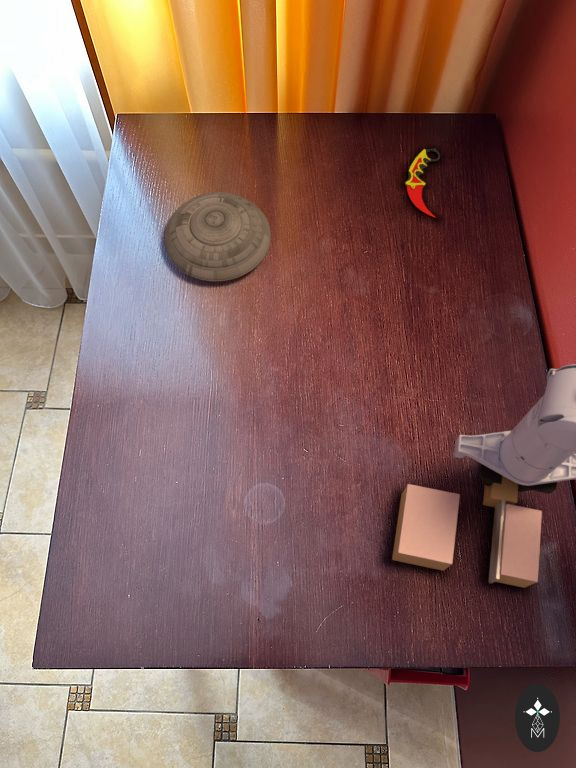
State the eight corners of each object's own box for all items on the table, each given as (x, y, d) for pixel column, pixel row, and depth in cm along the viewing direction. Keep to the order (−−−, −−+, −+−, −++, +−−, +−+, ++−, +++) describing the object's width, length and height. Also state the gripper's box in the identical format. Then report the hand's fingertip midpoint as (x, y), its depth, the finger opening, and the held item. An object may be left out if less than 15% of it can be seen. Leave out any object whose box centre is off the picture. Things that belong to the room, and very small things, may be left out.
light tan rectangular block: (528, 520, 82) (542, 510, 77) (524, 588, 78) (538, 582, 74) (495, 513, 82) (506, 503, 78) (489, 580, 79) (500, 574, 75)
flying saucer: (143, 253, 97) (136, 229, 92) (207, 184, 102) (203, 157, 97) (230, 305, 93) (227, 283, 88) (291, 230, 99) (292, 205, 94)
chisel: (487, 458, 84) (495, 448, 81) (511, 462, 84) (520, 453, 81) (475, 581, 78) (483, 576, 75) (502, 586, 78) (511, 582, 75)
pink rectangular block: (451, 504, 82) (460, 494, 78) (443, 570, 79) (452, 564, 75) (401, 494, 83) (407, 483, 79) (391, 560, 79) (398, 552, 75)
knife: (437, 217, 99) (403, 212, 99) (436, 218, 100) (402, 213, 100) (441, 148, 104) (409, 143, 105) (440, 150, 105) (408, 145, 105)
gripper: (614, 420, 70) (564, 461, 83) (472, 392, 71) (444, 437, 84) (613, 485, 67) (561, 517, 80) (466, 456, 68) (437, 492, 81)
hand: (501, 480), depth 81 cm, fingers closed on chisel, 3 cm apart
